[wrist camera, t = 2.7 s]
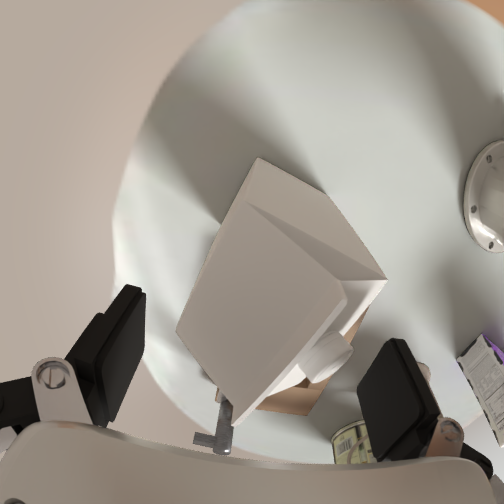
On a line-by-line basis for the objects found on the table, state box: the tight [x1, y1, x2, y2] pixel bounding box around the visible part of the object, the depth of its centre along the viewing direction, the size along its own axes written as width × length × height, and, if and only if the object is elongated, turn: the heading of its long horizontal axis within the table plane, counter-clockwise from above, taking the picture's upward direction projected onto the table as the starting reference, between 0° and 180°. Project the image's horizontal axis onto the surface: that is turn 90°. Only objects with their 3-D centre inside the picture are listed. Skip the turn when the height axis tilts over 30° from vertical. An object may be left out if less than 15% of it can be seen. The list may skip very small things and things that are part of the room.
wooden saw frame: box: [215, 305, 370, 416], centre depth 31 cm, size 19×12×2 cm, turn 167°
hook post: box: [193, 399, 234, 455], centre depth 29 cm, size 2×4×8 cm, turn 77°
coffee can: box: [331, 420, 377, 464], centre depth 34 cm, size 10×10×14 cm
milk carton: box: [176, 157, 388, 427], centre depth 18 cm, size 7×7×19 cm
